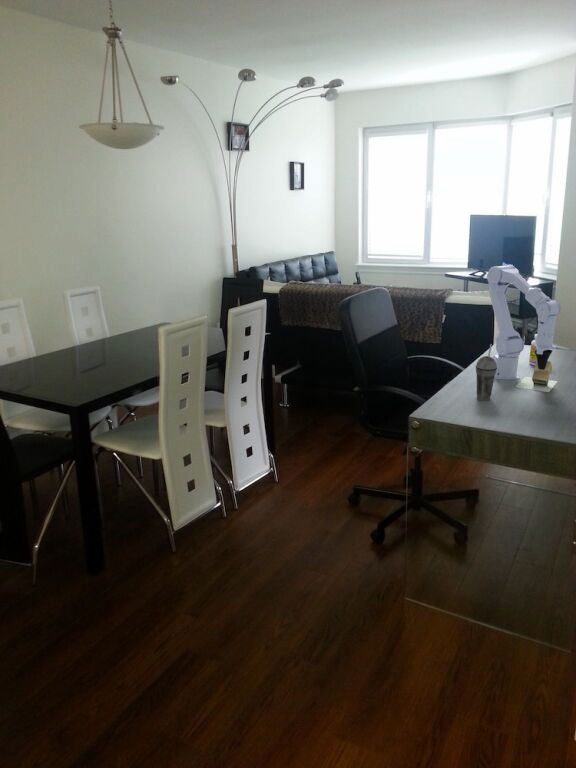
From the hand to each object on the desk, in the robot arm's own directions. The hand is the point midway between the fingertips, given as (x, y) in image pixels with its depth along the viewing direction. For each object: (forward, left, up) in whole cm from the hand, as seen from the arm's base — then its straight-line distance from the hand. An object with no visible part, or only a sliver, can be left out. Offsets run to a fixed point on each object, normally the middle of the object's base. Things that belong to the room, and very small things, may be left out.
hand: (541, 369), depth 230 cm
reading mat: (0, +3, -7) cm, 8 cm away
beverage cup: (-24, -15, -7) cm, 29 cm away
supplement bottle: (+10, +32, -7) cm, 35 cm away
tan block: (0, 0, -5) cm, 5 cm away
